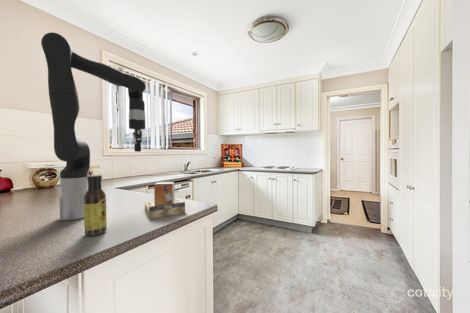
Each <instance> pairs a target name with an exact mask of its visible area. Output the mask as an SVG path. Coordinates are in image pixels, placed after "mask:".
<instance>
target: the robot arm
mask: <svg viewBox="0 0 470 313" xmlns="http://www.w3.org/2000/svg"><path fill="white" fill-rule="evenodd" d="M40 43H41V47H42V51H43V53H44V55H45V56H44V57H45V61H46V65H47V82H48V83H47V86H48V97H49V104H50V108H51V109H50V110H51V114H52V115H51V117H52V124H53V150H54V154H55V156H56V158H57V159H58V160H60V161H62V162H66V164H65V167H64V168H63V169H62V170H60V172H59V184H60V186H59V187H60V196H59V198H58V200H59V201H58V203H59V204H58V205H59V221H75V220H79V219H84V196H85V194H86V192H87V191H88V180H87V177H88V176H89V175H88V174H89V171H90V166H91V165H90V164H91V151H90V150H91V149H90V146H89V144H88V143H87V142H86V141H84V140H81V139H77V137H76V131H75V130H76V129H75V128H76V127H75V125H76V121H77V118H78V116H79V113H80V101H79V95H78V91H77V86H76V81H75V79H74V75H73V71H72V69H75V70H78V71H81V72H84V73H86V74H90V75H92V76H94V77H97V78H99V79H101V80H103V81H105V82H108V83H110V84H112V85H114V86H117V87H124V88H127V93H128V99H129V101H128V102H129V103H128V105H129V110H128V128H129V129H130V130H134V131H133V132H132V137H133V138H132V140H133V145H134V151H135V152H136V153H138V152H141V151H142V142H143V141H142V140H143V132H142V130H144V131H145V130H146V113H145V108H146V107H145V106H146V105H145V100H144V98H143V96H144V95H143V94H144V91H145V90H146V88H147V86H146V83H145V82H144V80H142V79H141V78H139V77H137V76H134V75H132V74H129V73H125V72H123V71H120V70H119V69H118V68H115V67H112V66H110V65H108V64H105V63H103V62H99V61H96V60H91V59H88V58H86V57H84V56H82V55H79V54H78V53H76V52H74V51H73V50H72V46H71V44H70V43H69V41H68V40H67V38H65V36H63V35H61V34H60V33H58V32H47V33H45V34H44V35H43V36H42V38H41V40H40Z"/></svg>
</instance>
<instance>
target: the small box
mask: <svg viewBox="0 0 470 313" xmlns="http://www.w3.org/2000/svg"><path fill="white" fill-rule="evenodd" d="M153 190H154V196H153V198H154V201H153V202H154V206H158V205H166V204H173V203H175V202H174V199H175V182H174V181H166V182H160V181H158V182H156V183H154V188H153Z"/></svg>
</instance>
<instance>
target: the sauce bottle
mask: <svg viewBox="0 0 470 313" xmlns="http://www.w3.org/2000/svg"><path fill="white" fill-rule="evenodd" d="M102 178H103V177H102V174H99V175H98V174H97V175H96V174H95V175H94V174H93V175H88V177H87V180H88V191H87V192H86V194H85V196H84V218H83V219H84V220H83V223H84V234H85V236H86V237H92V236H98V235H101V234H103V233H105V232H106V231H107V196H106V195H107V194H106V192H104V190H103V189H102Z"/></svg>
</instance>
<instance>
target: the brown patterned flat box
mask: <svg viewBox="0 0 470 313" xmlns="http://www.w3.org/2000/svg"><path fill="white" fill-rule="evenodd" d="M174 202H175V203H173V204H166V205H158V206H154V201H150V202H144V211H145V213H146V215H147V216H148V218H149V219H156V218H162V217H168V216H173V215H178V214H179V215H180V214H185V213H186V201H182V202H180V200H178V199H176V198H174Z"/></svg>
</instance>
